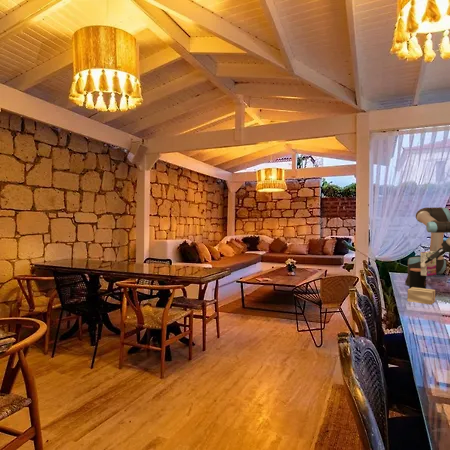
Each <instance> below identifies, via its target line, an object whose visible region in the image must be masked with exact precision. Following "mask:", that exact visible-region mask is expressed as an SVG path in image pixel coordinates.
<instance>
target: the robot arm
mask: <svg viewBox="0 0 450 450" xmlns="http://www.w3.org/2000/svg"><path fill="white" fill-rule="evenodd" d="M415 219H416V221H417V222H418V223H421V224H423V225H424V226H426V227H425V229H426V232H427V233H430V244H429V251H434V252H435V253H434V254H433V255H431V256H430V257H427V258H428V259H426V260H425V261H424V262H423V263H421V256H412V257H409V258H408V259H407V276H406V279H405V283H404V285H405V286H408V287H409V282H410V269H411V268H419V269H421V266H422V267H424V266H426V265H427V264H428V263H430V262H431V261H432V260H433V259H434V258H436V275H437V274H443V273H444V272H445V271H446V269H447V261H446V259H445V258H444V256H443V255H444V254H445V253H446V252H448V253H450V236H449V237H448V238H447V239H446V240H444V237H445V236H444V234H447V233H448V234H450V210H449V208H448V207H443V206H442V207H441V206H440V207H424V208H423V207H422V208H421V209H419V210H418V211H417V212H416V213H415Z"/></svg>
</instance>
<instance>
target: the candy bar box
mask: <svg viewBox="0 0 450 450" xmlns="http://www.w3.org/2000/svg"><path fill="white" fill-rule="evenodd" d="M434 253H435V252H434V251H430V250H428V251H421V252H420V257H421V263H423V262H424V261H425V260H426V259H428V258H427V257H430V256H431V255H433V254H434ZM421 275H422V276H426V277H431V276H436V275H437V274H436V258H434V259H433V260H432V261H431V262H430V263H428V264H427V265H426V266H424V267H422V266H421Z"/></svg>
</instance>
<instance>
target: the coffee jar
mask: <svg viewBox="0 0 450 450" xmlns="http://www.w3.org/2000/svg"><path fill="white" fill-rule="evenodd" d="M408 287H409V288H408V289H410V288H411V287H416V288H424V289H427V276H422V275H421V269H419V268H411V269H410V282H409V286H408Z"/></svg>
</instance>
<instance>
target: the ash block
mask: <svg viewBox="0 0 450 450" xmlns="http://www.w3.org/2000/svg"><path fill="white" fill-rule="evenodd" d="M407 302H409V303H417V304H423V305H431V306H432V305H433V304H434V303H435V302H436V289H430V288H426V289H424V288H416V287H411V288H410V289H409V288H408V289H407Z"/></svg>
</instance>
